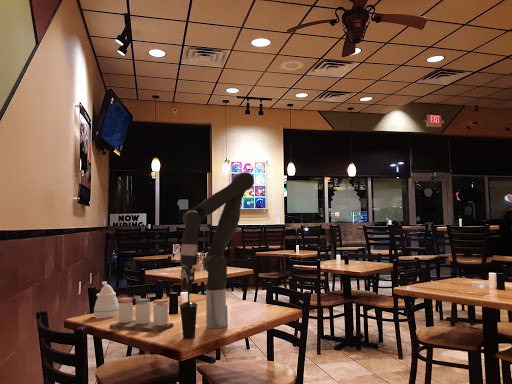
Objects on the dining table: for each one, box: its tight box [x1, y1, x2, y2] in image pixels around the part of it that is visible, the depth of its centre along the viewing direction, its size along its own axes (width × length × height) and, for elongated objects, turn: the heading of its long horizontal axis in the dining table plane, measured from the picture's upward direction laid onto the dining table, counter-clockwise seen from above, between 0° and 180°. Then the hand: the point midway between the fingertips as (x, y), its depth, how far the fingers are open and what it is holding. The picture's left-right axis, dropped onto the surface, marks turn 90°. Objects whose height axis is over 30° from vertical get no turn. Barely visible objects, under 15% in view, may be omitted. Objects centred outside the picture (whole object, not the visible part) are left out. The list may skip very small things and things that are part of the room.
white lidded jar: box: [135, 297, 151, 324], centre depth 195 cm, size 5×4×11 cm
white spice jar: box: [117, 297, 134, 323], centre depth 199 cm, size 5×4×11 cm
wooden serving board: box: [109, 319, 174, 333], centre depth 194 cm, size 28×11×2 cm, turn 68°
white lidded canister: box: [152, 298, 169, 326], centre depth 191 cm, size 5×4×11 cm
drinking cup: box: [179, 289, 198, 340], centre depth 175 cm, size 8×8×20 cm
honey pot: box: [93, 281, 119, 319], centre depth 222 cm, size 13×13×18 cm
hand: (186, 290), depth 187 cm, fingers open, 8 cm apart
